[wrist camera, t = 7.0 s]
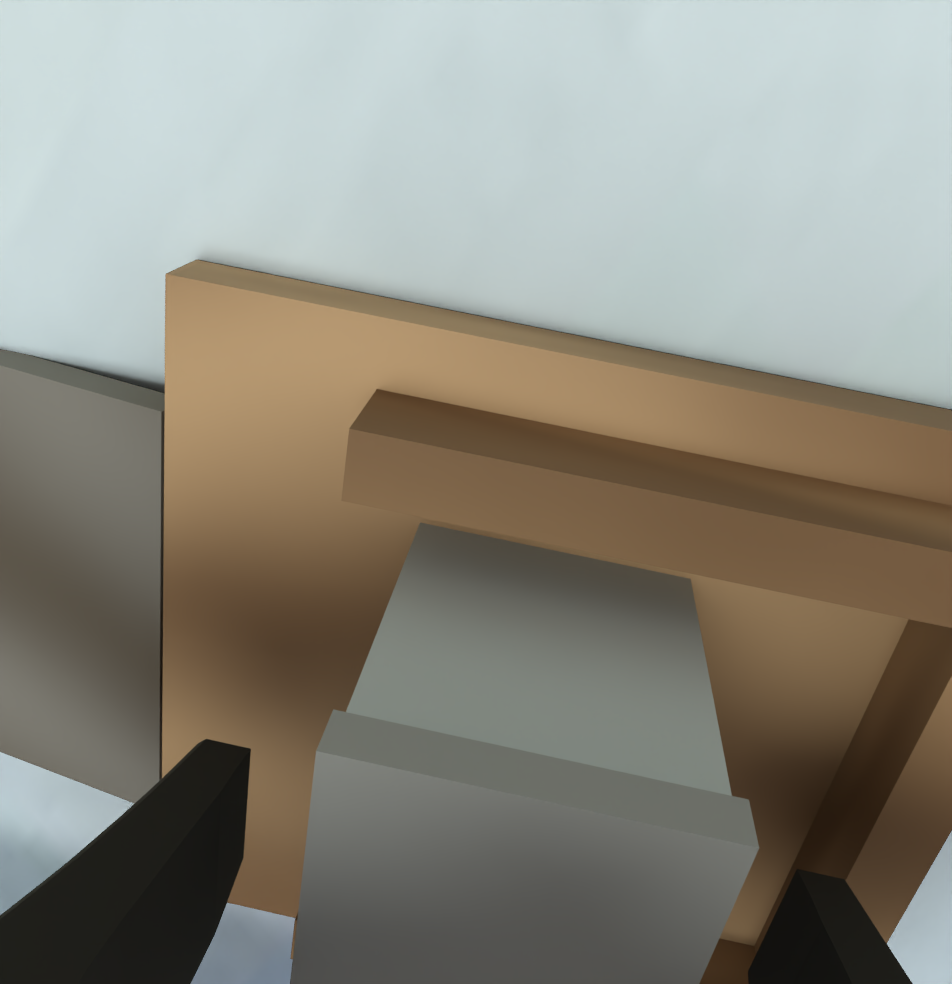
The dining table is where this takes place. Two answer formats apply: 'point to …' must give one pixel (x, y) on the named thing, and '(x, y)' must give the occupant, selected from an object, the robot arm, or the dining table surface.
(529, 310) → the dining table surface
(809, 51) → the dining table surface
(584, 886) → the grey lidded box
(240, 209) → the dining table surface
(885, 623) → the dock
